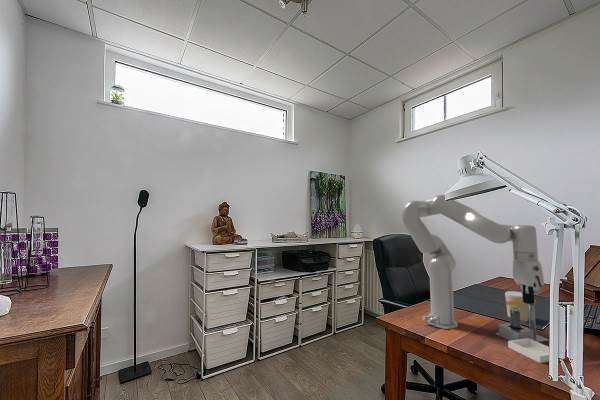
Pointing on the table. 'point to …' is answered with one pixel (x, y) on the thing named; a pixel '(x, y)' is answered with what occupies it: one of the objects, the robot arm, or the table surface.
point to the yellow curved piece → (516, 302)
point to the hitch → (522, 329)
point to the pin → (515, 318)
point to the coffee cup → (523, 307)
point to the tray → (531, 349)
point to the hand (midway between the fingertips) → (528, 302)
